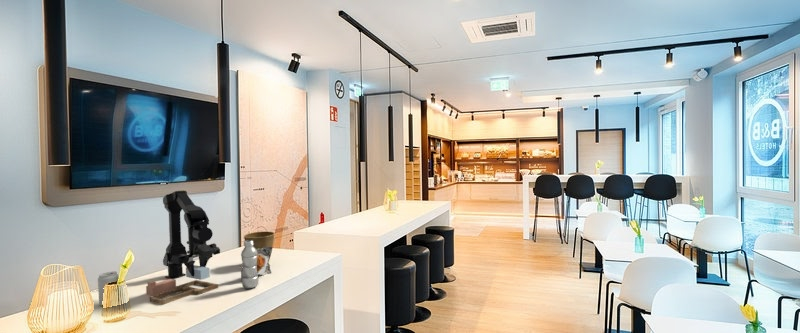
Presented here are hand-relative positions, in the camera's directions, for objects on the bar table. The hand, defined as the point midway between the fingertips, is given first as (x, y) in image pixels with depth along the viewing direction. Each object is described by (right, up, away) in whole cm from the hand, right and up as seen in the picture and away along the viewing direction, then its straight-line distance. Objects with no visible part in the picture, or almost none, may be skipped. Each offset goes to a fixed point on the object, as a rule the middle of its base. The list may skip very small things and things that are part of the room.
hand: (197, 274), depth 161 cm
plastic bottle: (+23, -5, -1) cm, 24 cm away
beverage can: (-27, -8, -15) cm, 31 cm away
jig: (-3, -6, -6) cm, 9 cm away
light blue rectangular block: (0, -1, 0) cm, 1 cm away
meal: (+21, -5, +12) cm, 25 cm away
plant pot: (+15, -5, +34) cm, 37 cm away
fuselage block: (-14, -7, -3) cm, 16 cm away
